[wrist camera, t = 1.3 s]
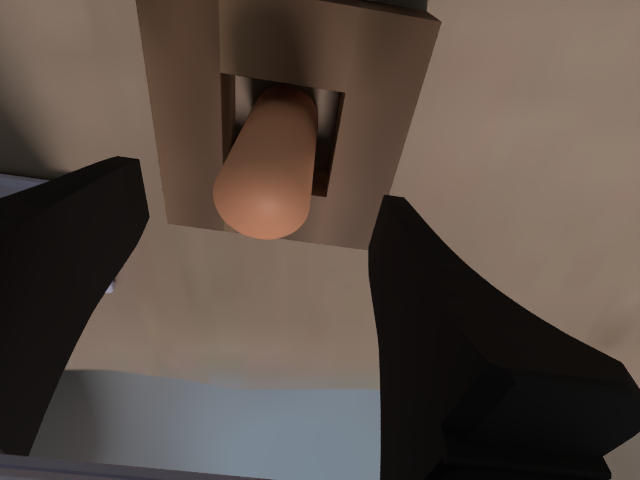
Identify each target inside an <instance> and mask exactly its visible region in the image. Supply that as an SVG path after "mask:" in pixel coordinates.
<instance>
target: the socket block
mask: <svg viewBox="0 0 640 480" xmlns="http://www.w3.org/2000/svg"><path fill="white" fill-rule="evenodd" d="M136 6H137V13H138V20H139V27H140V34H141V40H142V47H143V54H144V61H145V68H146V75H147V82H148V89H149V96H150V103H151V110H152V117H153V124H154V131H155V138H156V145H157V152H158V159H159V166H160V173H161V180H162V187H163V193H164V200H165V207H166V214H167V221H168V224H174V225H181V226H189V227H196V228H204V229H212V230H219V231H227V232H234V233H240V232H238V231H236V230H235V229H233V228H232V227H231V226H229V225H228V224H227V223H226V222H225V221H224V220H223V218H222V217H221V216H220V214H219V213H218V211H217V209H216V206H215V203H214V199H213V188H214V183H215V181H216V178H217V176H218V174H219V172H220V170H221V168H222V166H223V165H224V163H225V161H226V159H227V157H228V155H229V153H230V151H231V149H232V147H233V145H234V143H235V75H238V76H244V77H250V78H257V79H263V80H269V81H275V82H282V83H288V84H294V85H301V86H307V87H313V88H319V89H326V90H332V91H338V92H341V96H340V102H339V107H338V113H337V119H336V125H335V130H334V136H333V142H332V148H331V153H330V159H329V165H328V170H327V171H325V170H318V169H314V170H313V180H312V191H311V201H310V209H309V213H308V216H307V218H306V220H305V222H304V223H303V224H302V225H301V227H299V228H298V229H297V230H296V231H295V232H293V233H291V234H289V235H287V236H285V237H281V238H280V239H287V240H295V241H303V242H310V243H318V244H325V245H333V246H340V247H348V248H356V249H363V250H368V246H369V243H370V240H371V236H372V233H373V229H374V226H375V223H376V219H377V216H378V213H379V209H380V206H381V202H382V199H383V196H384V195H389V193H390V189H391V186H392V183H393V179H394V176H395V173H396V170H397V166H398V163H399V160H400V156H401V153H402V150H403V147H404V143H405V140H406V137H407V134H408V130H409V127H410V124H411V120H412V117H413V114H414V111H415V107H416V104H417V101H418V97H419V94H420V91H421V88H422V84H423V81H424V78H425V75H426V71H427V68H428V65H429V61H430V58H431V55H432V52H433V48H434V45H435V42H436V39H437V35H438V32H439V29H440V25H441V21H440V20H438V19H437V18H435V17H434V16H433V15H431V14H430V13H428V12H427V11H422V10H416V9H410V8H404V7H399V6H393V5H387V4H382V3H376V2H370V1H365V0H136Z"/></svg>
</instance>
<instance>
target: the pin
mask: <svg viewBox="0 0 640 480" xmlns="http://www.w3.org/2000/svg"><path fill="white" fill-rule="evenodd" d="M317 129H318V112H317V109H316V106H315V104H314V102H313V101H312V99H311V98H310V97H309V96H308V95H307V94H306V93H305V92H304V91H302V90H301V89H299V88H297V87H294V86H290V85H276V86H273V87H270V88H268V89H267V90H265V91H264V92H263V93H262V94H261V95H260V96H259V97H258V99H257V100H256V102H255V104H254V106H253V108H252V110H251V112H250V114H249V116H248V118H247V120H246V122H245V124H244V126H243V128H242V130H241V131H240V133H239V135H238V137H237V139H236V141H235V143H234V145H233V147H232V149H231V151H230V153H229V155H228V157H227V159H226V161H225V163H224V165H223V166H222V168H221V170H220V172H219V174H218V176H217V178H216V181H215V183H214V188H213V199H214V203H215V206H216V209H217V211H218V213H219V214H220V216H221V217H222V218H223V220H224V221H225V222H226V223H227V224H228V225H229V226H231V227H232V228H233V229H235V230H236V231H238V232H240V233H242V234H244V235H246V236H249V237H253V238H257V239H277V238H281V237H285V236H287V235H289V234H291V233H293V232H295V231H296V230H297V229H298V228H299V227H301V225H302V224H303V223H304V222H305V220H306V218H307V216H308V213H309V209H310V201H311V191H312V180H313V170H314V160H315V150H316V139H317Z"/></svg>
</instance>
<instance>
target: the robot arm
mask: <svg viewBox="0 0 640 480" xmlns="http://www.w3.org/2000/svg"><path fill="white" fill-rule="evenodd" d="M149 217H150V216H149V211H148V205H147V200H146V194H145V189H144V183H143V178H142V172H141V167H140V161H139V159H134V158H127V157H120V156H116V157H112V158H109V159H106V160H103V161H100V162H97V163H94V164H92V165H89V166H86V167H84V168H81V169H79V170H76V171H74V172H71V173H68V174H66V175H63V176H61V177H58V178H55V179H53V180H43V179H35V178H28V177H21V176H13V175H6V174H0V480H271V479H260V478H250V477H240V476H229V475H219V474H208V473H198V472H185V471H175V470H165V469H155V468H145V467H134V466H123V465H113V464H102V463H92V462H81V461H71V460H59V459H50V458H39V457H29V453H30V451H31V448H32V445H33V443H34V440H35V438H36V435H37V433H38V430H39V427H40V425H41V422H42V420H43V417H44V414H45V412H46V410H47V408H48V405H49V403H50V400H51V398H52V396H53V393H54V391H55V389H56V387H57V384H58V382H59V380H60V377H61V375H62V373H63V371H64V369H65V367H66V365H67V362H68V360H69V358H70V356H71V354H72V352H73V350H74V348H75V346H76V343H77V342H78V340H79V338H80V336H81V334H82V332H83V330H84V328H85V326H86V324H87V322H88V320H89V318H90V316H91V314H92V313H93V311H94V309H95V308H96V306H97V304H98V303H99V301H100V300H101V298H102V297H103V295H104V294H105V293H111V292H112V291H113V290H114V288H115V284H114V279H115V277H116V276H117V274H118V273H119V271H120V270H121V268H122V267H123V265H124V264H125V262H126V261H127V259H128V258H129V256H130V255H131V253H132V252H133V250H134V249H135V247H136V245H137V244H138V242H139V240H140V238H141V235H142V233H143V231H144V229H145V227H146V224H147V222H148V220H149ZM368 269H369V281H370V288H371V295H372V302H373V308H374V315H375V322H376V328H377V335H378V345H379V365H380V397H381V398H380V401H381V466H380V470H381V471H380V480H609V479H611V471H610V469H609V468H608V466H607V464H606V462H605V460H604V458H603V456H604V455H606V454H607V453H609V452H611V451H612V450H614V449H615V448H617V447H618V446H620V445H621V444H623V443H624V442H626V441H627V440H629V439H630V438H632V437H634V436H635V435H636V434H637V433H639V432H640V389H639V387H638V386H637V384H636V383H635V381H634V380H633V378H632V377H631V375H630V374H629V372H628V371H627V369H626V368H625V366H624V365H623V364H622V362H620V361H618V360H616V359H614V358H612V357H610V356H608V355H606V354H604V353H602V352H600V351H598V350H597V349H595V348H593V347H591V346H589V345H587V344H585V343H583V342H581V341H579V340H577V339H575V338H573V337H571V336H570V335H568V334H566V333H564V332H563V331H561V330H559V329H558V328H556V327H554V326H552V325H551V324H549V323H547V322H546V321H544V320H542V319H541V318H539V317H537V316H536V315H534V314H533V313H531V312H530V311H528V310H526V309H525V308H523V307H522V306H520V305H519V304H518V303H516V302H515V301H513V300H512V299H510V298H509V297H508V296H506V295H505V294H503V293H502V292H500V291H499V290H498V289H496V288H495V287H494V286H492V285H491V284H490V283H489V282H487V281H486V280H485V279H484V278H482V277H481V276H480V275H479V274H478V273H476V272H475V271H474V270H473V269H472V268H470V267H469V266H468V265H467V264H466V263H465V262H464V261H463V260H462V259H461V258H459V257H458V256H457V255H456V254H455V253H454V252H453V251H452V250H451V249H450V248H449V247H448V246H447V245H446V244H445V243H444V242H443V241H442V240H441V239H440V237H439V236H438V235H437V234H436V233H435V232H434V231H433V230H432V229H431V228H430V226H429V225H428V224H427V223H426V222H425V221H424V220H423V218H422V217H421V216H420V215H419V214H418V213H417V212H416V210H415V209H414V208H413V207H412V206H411V205H410V204H409V202H408V201H407V200H406V199H405V198H404V197H397V196H390V195H384V196H383V199H382V202H381V206H380V209H379V213H378V216H377V219H376V223H375V226H374V229H373V233H372V236H371V240H370V243H369V246H368Z"/></svg>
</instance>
